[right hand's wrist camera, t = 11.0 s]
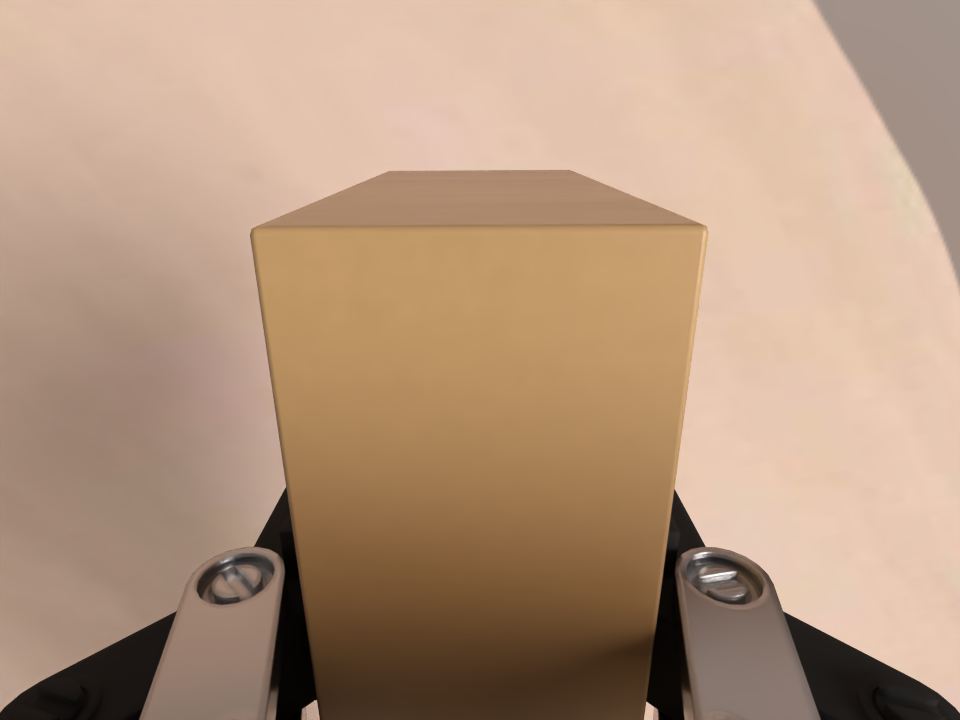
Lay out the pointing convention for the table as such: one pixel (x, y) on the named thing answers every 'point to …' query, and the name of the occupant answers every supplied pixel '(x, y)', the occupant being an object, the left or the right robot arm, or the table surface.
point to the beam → (480, 437)
